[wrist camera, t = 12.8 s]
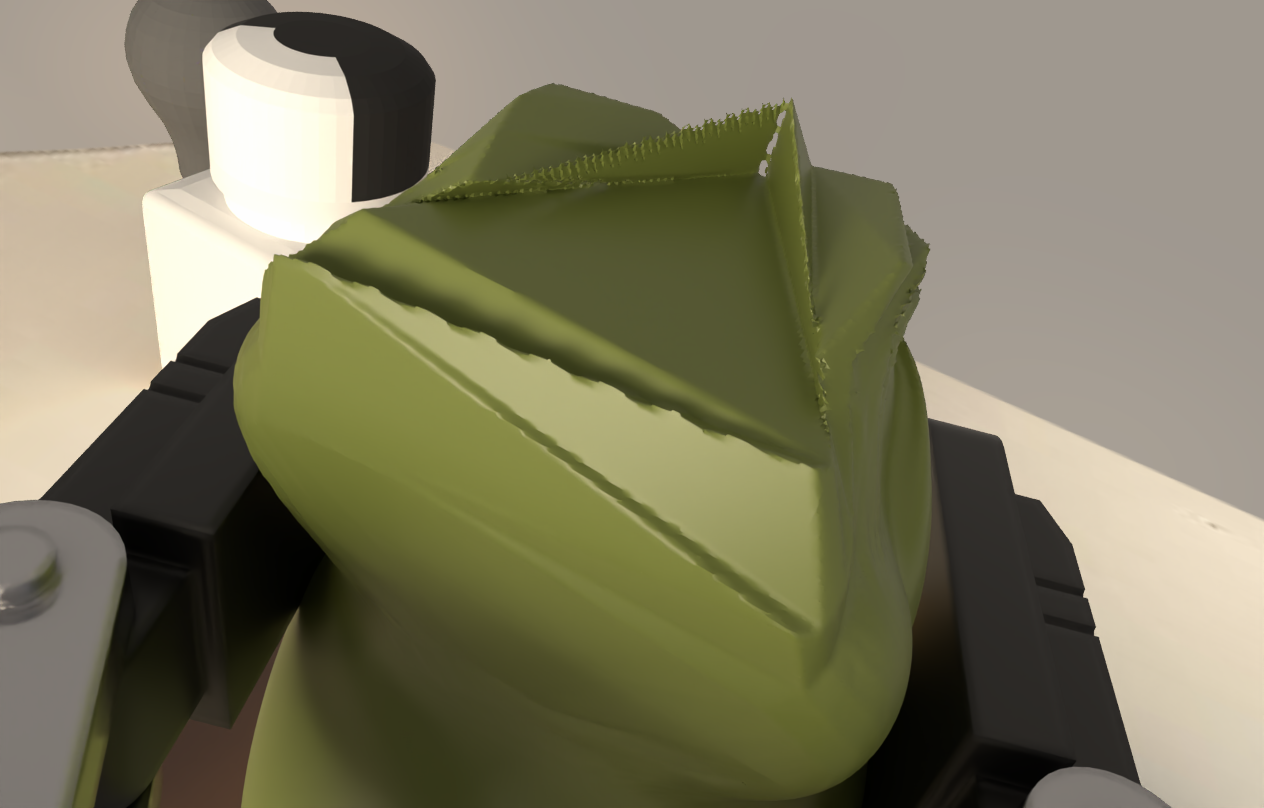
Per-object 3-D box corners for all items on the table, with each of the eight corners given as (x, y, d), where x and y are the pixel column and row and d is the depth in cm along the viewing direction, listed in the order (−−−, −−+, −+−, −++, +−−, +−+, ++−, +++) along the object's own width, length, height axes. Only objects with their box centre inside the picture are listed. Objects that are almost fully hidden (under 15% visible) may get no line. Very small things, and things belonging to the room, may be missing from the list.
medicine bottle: (318, 300, 37) (319, -26, 30) (469, 384, 35) (509, 57, 28) (159, 386, 32) (112, 16, 25) (324, 490, 30) (328, 122, 23)
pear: (797, 897, 13) (1243, 191, 7) (577, 1398, 9) (1181, 798, 3) (449, 671, 14) (547, -64, 8) (132, 1006, 10) (-141, 74, 4)
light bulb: (114, 233, 38) (75, -35, 32) (216, 183, 42) (198, -63, 36) (233, 285, 37) (216, 18, 31) (325, 228, 41) (326, -17, 35)
